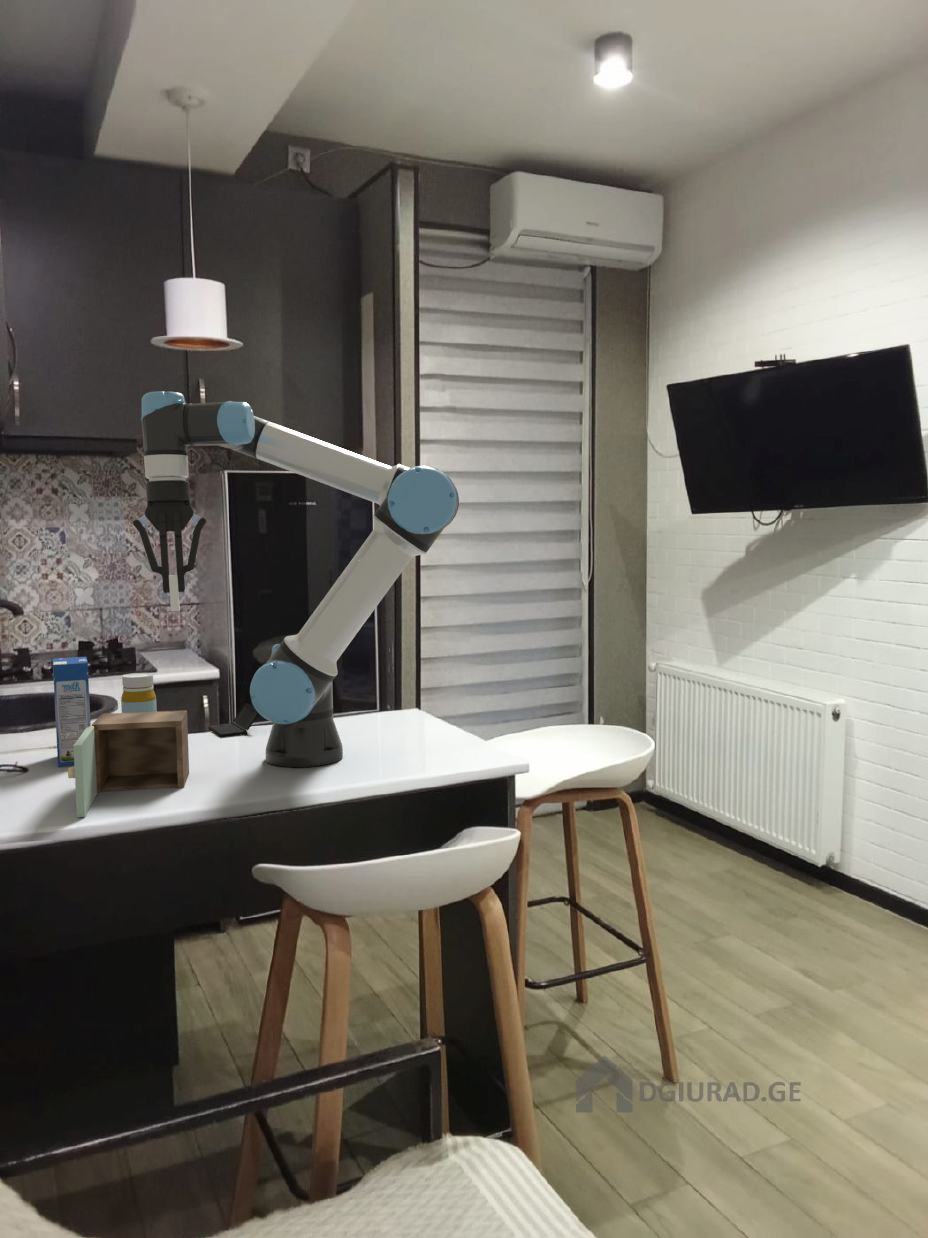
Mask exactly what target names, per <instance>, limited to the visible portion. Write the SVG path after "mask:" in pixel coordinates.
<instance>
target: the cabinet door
mask: <svg viewBox="0 0 928 1238" xmlns="http://www.w3.org/2000/svg"><path fill="white" fill-rule="evenodd" d="M67 777H68V779H74V782H75V783H74V784H75V804H76V805H75V807H76V818H83V817H84V818H85V817H86V816H87V814H88V812H89V810H90V808H91V806H92V804H93V802H94V800H95V798H96V796H97V795H98V792H97V779H96V757H95V736H94V726H92V725H91V726H89V727H88V728H86V729H85V731H84V732H83V733H82V735H81V736H80V737H79V739H78V740H77V741H76V743H75V744H74V766H68V769H67Z"/></svg>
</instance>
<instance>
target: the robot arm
mask: <svg viewBox="0 0 928 1238" xmlns="http://www.w3.org/2000/svg"><path fill="white" fill-rule="evenodd" d="M140 422H141V430H142V441H143V442H142V444H143V451H144V452H143V460H144V461H143V463H144V474H145V475H144V476H145V478H146V479H147V480H148V481H147V482H146V484H145V491H146V493H145V494H146V506H145V507H146V508H145V510H144V514H143V515H142V516H140V517H139V518H138V519H134V520H133V522H132V525H133V526H134V527H135V529H136V530H137V531H138V533H139V535H140V539H141V542H142V545H143V548H144V551H145V553H146V557H147V560H148V563H149V566H150V569H151V571H152V572H154V573H157V574H160V575H161V577H162V579H161V580H162V591H163V594H166V593H167V594H169V599H170V600H169V603H170V612H180V611H181V608H180V593H185V589H186V584H185V583H186V582H185V581H186V579H185V574H186V573H188V572H191V571H193V570H194V568H195V563H196V558H197V553H198V547H199V543H200V538H201V531H202V530H203V528H204V527H205V525H206V524H207V520H206V518H204V517H202V516H200V515H198V514H196V513H195V510H194V509H193V507H192V504H191V490H190V482H189V481H187V479H188V478H189V477H190V475H189V474H190V473H189V456H188V447H199V446H200V447H202V446H203V447H204V446H205V447H206V446H219V447H223V448H225V449H229V450H232V451H234V452H237V453H241V454H243V455H245V456H248V457H251V458H254V459H257V460H259V461H263V462H265V463H268V464H271V465H273V466H276V467H279V468H281V469H283V470H287V471H290V472H292V473H294V474H297V475H300V476H303V477H305V478H307V479H311V480H314V481H316V482H319V483H321V484H324V485H327V486H329V487H332V488H333V489H337V490H341V491H343V492H345V493H349V494H350V495H353V496H355V497H359V498H361V499H364V500H367V501H370V502H372V503H375V504H377V505H378V506H379V507H378V508H377V509H376V511H375V512H374V513H373V517H372V518H373V519H372V520H373V523H374V527H373V530H372V531H371V532H370V534H369V535H368V537H367V538H366V539H365V540H364V542H363V544H362V545H361V546H360V548H359V549H358V551H356V553H355V554H354V556H353V558H352V559H351V560H350V562H349V563H347V564H348V565H346V567H345V568H344V570H343V571H342V573H341V574H340V576H338V577H337V580H335V582H334V584H332V586H331V588H330V589H329V590H328V592H327V593H326V595H324V598H323V599H322V600H321V601H320V603H319V604H318V605H317V607H316V608H315V609H314V611H313V613H311V615H310V616H309V618H308V620H307V621H306V622H305V624H304V625H303V626H302V627H301V629H300V630H299V632H298V633H297V634H293V635H287V636H285V637H284V638H283V640H282V641H281V643H277V644H274V645H272V648H271V655H270V657H269V659H268V660H267V662H266V663H264V664H262V666H260V667H259V668H258V669H257V670H256V671H255V673H254V675H253V677H252V679H251V682H250V687H249V695H250V700H251V704H252V706H253V707H255V709H256V710H257V712H258V713H259V715H260V716H261V717H262V718H264V719H265V720H266V721H269V722H271V723H273V724H272V726H271V730H270V734H269V736H268V739H267V743H266V747H265V761H266V762H267V763H268V764H271V765H273V766H277V767H287V768H304V767H308V768H309V767H318V766H325V765H328V764H333V763H335V762H338V761H341V759H343V755H344V754H343V753H344V752H343V743H342V739H341V738H340V735H339V731H338V730H337V729H338V728H337V726H336V723H335V720H334V705H333V704H334V703H333V701H334V699H333V698H334V697H333V695H334V694H333V692H334V691H333V681H334V680H335V678H336V676H337V675H338V673H339V672H338V666H337V661H338V660H340V657H341V656H342V654H343V653H344V652H345V651H346V649H347V648H348V646H349V645H350V644H351V642H352V641H353V639H354V638H355V637H356V636H357V634H358V632H359V631H360V630H361V628H362V627H363V625H364V624H365V623H366V622H367V620H368V619H369V618H370V616H371V615H372V613H373V612H374V611H375V609H376V608H377V607H378V606H379V604H380V602H381V601H382V600H383V598H384V597H385V596H386V595H387V593H388V592H389V590H390V589H391V588H392V586H393V584H394V583H395V582H396V581H397V579H398V578H399V576H400V575H401V574H402V572H403V571H404V570H405V568H406V567H407V566H408V565H409V563H410V561H411V560H412V559H413V558H414V557H416V556H422V555H426V554H427V552H428V551H429V550H430V548H432V546H433V544H434V543H435V542H436V540H437V539H438V537H439V536H440V535H441V533H442V532H443V531H444V530H445V528H446V527H447V526H449V525H450V524H451V523H452V522H453V520H454V519H455V518H456V515H457V513H458V510H459V507H460V506H459V505H460V498H459V493H458V490H457V487H456V485H455V484H454V482H453V480H452V479H451V478H450V476H448V475H447V474H446V473H445V472H443V471H442V470H439V469H438V468H436V467H433V466H430V465H429V466H428V465H417V466H413V467H409V466H406V465H403V464H400V463H398V464H396V465H393V466H391V465H388V464H385V463H382V462H379V461H377V460H374V459H372V458H370V457H366V456H364V455H361V454H358V453H355V452H353V451H350V450H347V449H345V448H342V447H339V446H337V445H334V444H331V443H329V442H326V441H323V440H320V439H318V438H315V437H312V436H310V435H307V434H305V433H301V432H299V431H297V430H293V429H290V428H288V427H285V426H283V425H280V424H277V423H274V422H273V421H272V422H271V421H269V420H265V419H264V418H261V417H258V416H255V415H254V412H253V409H252V406H251V405H250V404H249V403H247V402H245V401H232V400H227V401H221V402H218V401H217V402H204V403H203V402H202V403H187V402H186V400H185V396H184V395H183V394H182V393H180V392H177V391H176V392H175V391H149V392H147V393H145V394H143V396H142V397H141V417H140ZM191 519H192V526H193V527H194V529H193V532H192V533H193V534H192V539H191V543H190V548H189V549H190V550H189V554H188V558H187V559H188V560H187V564H185V562H184V550H183V549H184V548H183V532H182V531H183V530H184V529H186V527H187V525H188V523H190V521H191ZM148 521H149V522H150V523H151V525H152V526H153V527H154V528H155V529H156V530H157V532H159V543H160V544H159V546H160V563H161V564H160V565H161V566H160V565H159V564H158V561H157V557H156V555H155V552H154V549H153V545H152V542H151V539H150V536H149V532H148V531H147V528H148V526H149V524H148ZM169 532H173V534H174V548H175V560H176V561H175V563H176V564H175V565H176V574H170V563H169V560H170V559H169V542H168V533H169ZM184 564H185V565H184Z"/></svg>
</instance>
